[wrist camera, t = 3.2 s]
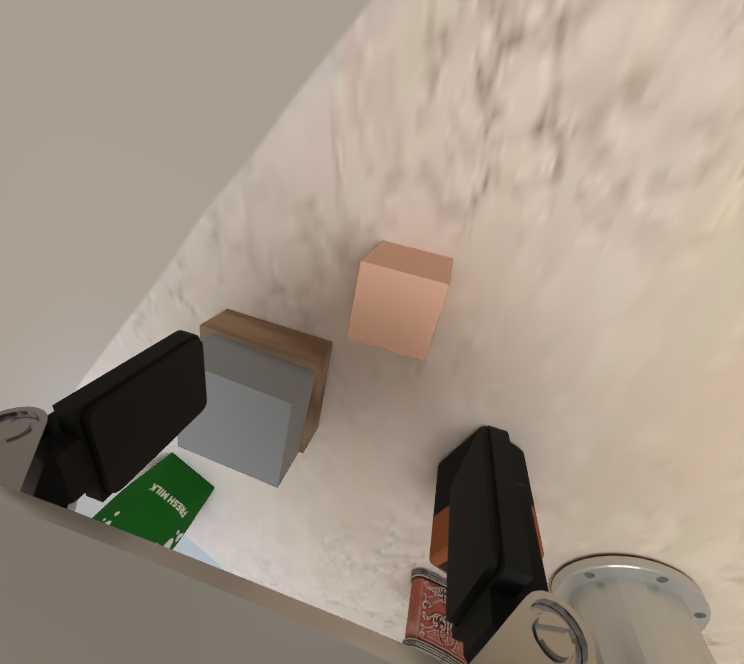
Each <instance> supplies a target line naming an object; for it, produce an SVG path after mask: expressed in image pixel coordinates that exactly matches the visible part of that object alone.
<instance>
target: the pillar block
mask: <svg viewBox="0 0 744 664" xmlns="http://www.w3.org/2000/svg"><path fill="white" fill-rule="evenodd" d="M452 263H453V258H449V257H445V256H441V255H437V254H433V253H429V252H426V251H422V250H418V249H414V248H410V247H406V246H402V245H399V244H395V243H391V242H387V241H383V242H382V243H380V244H379V245H378V246H377V247H376V248H375V249H374V250H372V251H371V252H370V253H369V254H368V255H367V256H366V257H364V258H363V259H362V260H361V262H360V267H359V273H358V278H357V284H356V289H355V295H354V300H353V306H352V311H351V317H350V322H349V328H348V333H347V338H348V339H352V340H355V341H358V342H362V343H365V344H368V345H372V346H375V347H378V348H381V349H385V350H388V351H391V352H395V353H398V354H401V355H405V356H408V357H411V358H415V359H418V360H421V361H424V362H425V359H426V356H427V352H428V349H429V346H430V343H431V340H432V337H433V334H434V331H435V328H436V325H437V322H438V319H439V316H440V313H441V309H442V306H443V303H444V300H445V297H446V294H447V291H448V288H449V285H450V278H451V270H452Z"/></svg>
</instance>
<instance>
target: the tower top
mask: <svg viewBox="0 0 744 664" xmlns="http://www.w3.org/2000/svg"><path fill="white" fill-rule="evenodd" d="M201 341H202V343H203V351H204V365H205V379H206V392H207V404H206V407H205V408H204V410H203V411H202V412H201V413H200V414H199V415H198V416H197V417H196V418H195V419H194V420H193V421H192V422H191V423H190V424H189V425H188V426H187V427H186V428H185V429H184V430H183V431H182V432H180V433H179V434H178V446H179V447H182V448H184V449H186V450H189V451H191V452H194V453H196V454H198V455H201V456H203V457H206V458H208V459H210V460H213V461H215V462H217V463H220V464H222V465H225V466H227V467H229V468H232V469H234V470H237V471H239V472H241V473H244V474H246V475H248V476H251V477H253V478H256V479H258V480H260V481H263V482H265V483H268V484H270V485H272V486H275V487H277V488H278V486H279V484H280V483H281V481H282V479H283V478H284V476H285V474H286V473H287V471H288V469H289V467H290V466H291V464H292V462H293V461H294V459H295V457H296V456H297V454H298V452H299V451H300V446H301V441H302V436H303V431H304V427H305V422H306V417H307V412H308V407H309V403H310V398H311V393H312V388H313V383H314V379H315V374H316V372H314V371H311V370H309V369H306V368H303V367H301V366H298V365H295V364H293V363H290V362H287V361H285V360H282V359H279V358H277V357H274V356H271V355H268V354H266V353H263V352H260V351H258V350H255V349H252V348H250V347H247V346H244V345H242V344H239V343H236V342H234V341H231V340H228V339H226V338H223V337H220V336H218V335H215V334H210V335H209V336H207V337H206V338H204V339H202V340H201Z"/></svg>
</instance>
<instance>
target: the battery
mask: <svg viewBox="0 0 744 664" xmlns="http://www.w3.org/2000/svg"><path fill="white" fill-rule="evenodd" d="M485 428H486V427H483V428H482V429H485ZM477 432H478V431H477ZM477 432H476V433H475V434H474V435H473V436H471V437H470V438H469V439H468V440H467V441H466V442H464V443H463V444H462V445H461V446H460V447H459V448H457V449H456V450H455V451H454V452H453V453H452V454H451V455H449V456H448V457H447V458H446V459H445V460H444V461H442V462H441V463H440V464H439V466H438V473H437V484H436V494H435V505H434V515H433V526H432V536H431V547H430V562H431V564H433V565H434V566H436V567H437V568H439V569H440V570H442V571H443V572H445V573H446V574H447V561H448V532H449V503H450V490H451V486H452V483H453V481H454V479H455V477H456V475H457V473H458V471H459V469H460V467H461V464H462V462H463V460H464V458H465V456H466V454H467V452H468V450H469V448H470V446H471V444H472V442H473V440H474V438H475V436H476V434H477ZM510 445H511V451H512V457H513V463H514V469H515V474H516V480H517V482H519V483H522V484H525V486H526V487H527V489H528V493H529V497H530V502H531V507H532V512H533V517H534V522H535V527H536V532H537V537H538V542H539V547H540V552H541V557H542V558H543V556H544V552H543V547H542V542H541V537H540V532H539V527H538V522H537V517H536V512H535V507H534V502H533V497H532V492H531V487H530V482H529V477H528V472H527V467H526V462H525V457H524V453H523V451H522V450H520V449H519V448H517V447H516V446H514V445H513V444H511V443H510Z"/></svg>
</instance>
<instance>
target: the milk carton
mask: <svg viewBox="0 0 744 664" xmlns="http://www.w3.org/2000/svg"><path fill="white" fill-rule="evenodd" d="M213 490H214V487H213V486H211V485H210V484H209V483H208V482H207V481H205V480H204V479H203V478H202V477H201V476H199V475H198V474H197V473H196V472H195V471H193V470H192V469H191V468H190V467H188V466H187V465H186V464H185V463H184V462H182V461H181V460H180V459H179V458H178V457H176V456H175V455H174V454H173V453H171V454H170V455H168V456H167V457H166V458H164V459H163V460H162V461H160V462H159V463H158V464H156V465H155V466H154V467H152V468H151V469H150V470H148V471H147V472H146V473H144V474H143V475H142V476H140V477H139V478H137V479H136V480H135V481H134V482H132V483H131V484H130V485H128V486H127V487H126V488H125V489H123V490H122V491H121V492H120V493H119V494H118V495H117V496H115V497H114V498H113V499H112V500H111V501H110V502H109V503H108V504H107V505H106V506H105V507H104V508H102V509H101V510H100V511H99V512H98V513H97V514H96V515H95V516H94V517H93V518H92V519H95V520H97V521H100V522H102V523H105V524H107V525H110V526H113V527H115V528H118V529H120V530H123V531H125V532H128V533H130V534H133V535H136V536H138V537H141V538H143V539H146V540H148V541H151V542H153V543H156V544H159V545H161V546H164V547H166V548H169V549H171V550H173V548H174V547H175V546H176V544H177V543H178V542H179V540H180V539H181V537H182V536H183V535H184V533H185V532H186V531H187V529H188V528H189V526H190V524H191V523H192V521H193V520H194V518H195V517H196V515H197V514H198V512H199V511H200V509H201V508H202V506H203V505H204V503H205V502H206V500H207V499H208V497H209V496H210V494H211V493H212V491H213Z"/></svg>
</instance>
